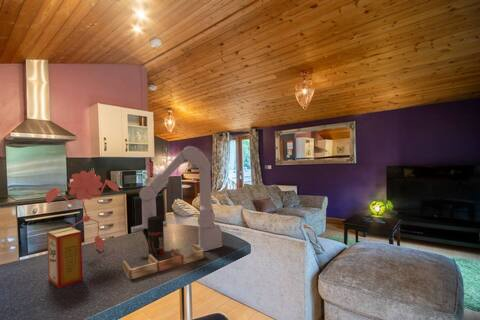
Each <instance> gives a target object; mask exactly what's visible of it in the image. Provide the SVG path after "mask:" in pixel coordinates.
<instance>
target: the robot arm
mask: <svg viewBox="0 0 480 320" xmlns="http://www.w3.org/2000/svg"><path fill="white" fill-rule="evenodd" d="M208 159H209V158H207V157H206V155H205V154H204V153H203V151H202V150H201V149H199V148H198V147H196V146H192V145H187V146H185V147H184V148H183V150H182V151H180V152H179V153H178V154H176V156H175V158H173V160H172V161H171V162H170V163H169V164H168V166H167V167H166V168H165V169H164V170H163V171H162V172H158V173H155V174H154V175H153V177H152V178H151V180H150V181H149V182H147V183H146V184H145V185H146V186H143V187H141V188H140V191H139V192H138V194H139V197H140V199H141V220H142V221H141V222H142V224H140V225H139V224H138V225H136V226H131V227H130V230H131V231H130V232H131V233H132V234H133V233H136V232H141V231H142V233H143V235H144V237H145V239H146V243H147V244H148V220H147V218H149V217H153V216H157V202H156V201H157V200H156V198H157V196H158V193H160V191H162V189H163V188H164V187H165V186H166V185H167V184H168V183H169V177H170V176H171V175H172V174H174V172H176V170H177V169H178V168H179V167H180V166H181V165H184V164H187V163H192V164H194V165H195V166H196V167H197V168H198V176H199V177H198V179H199V203H200V204H199V205H200V206H199V215H198V217H197V224H198V226H197V227H198V244H196V245H197V246H199V247H201V248H202V249H204V250H205V252H207V251H210V250H215V249H218V248H221V247H223V246H224V245H223V241H222V240H223V239H222V237H223V236H222V229H221V226H220V225H219V224H216V223H215V222H214V220H215V218H216V217H215V216H216V215H215V212H214V210H213V204H212V181H211V180H212V179H211V163H210V161H209V160H208ZM165 227H168V222H167V221H164V220H163V228H165Z"/></svg>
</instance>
